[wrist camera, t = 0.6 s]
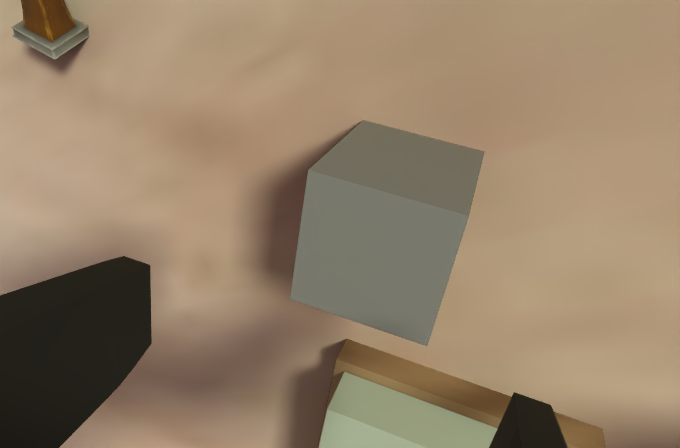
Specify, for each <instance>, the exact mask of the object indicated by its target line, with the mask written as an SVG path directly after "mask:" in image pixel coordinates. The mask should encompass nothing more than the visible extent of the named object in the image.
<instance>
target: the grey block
mask: <svg viewBox="0 0 680 448" xmlns="http://www.w3.org/2000/svg"><path fill="white" fill-rule="evenodd" d="M483 156H484V151H480V150H476V149H472V148H468V147H464V146H461V145H457V144H453V143H449V142H445V141H441V140H437V139H434V138H430V137H426V136H422V135H418V134H414V133H410V132H407V131H403V130H399V129H395V128H391V127H387V126H383V125H380V124H376V123H372V122H368V121H364V120H363V121H362V122H361V123H360V124H358V125H357V126H356V127H355V128H354V129H353V130H352V131H351V132H350V133H348V134H347V135H346V136H345V137H344V138H343V139H342V140H341V141H340V142H339V143H337V144H336V145H335V146H334V147H333V148H332V149H331V150H330V151H329V152H327V153H326V154H325V155H324V156H323V157H322V158H321V159H320V160H319V161H318V162H316V163H315V164H314V165H313V166H312V167H311V168H310V169H309V170H308V175H307V182H306V189H305V196H304V203H303V210H302V217H301V224H300V231H299V238H298V245H297V252H296V259H295V266H294V273H293V280H292V287H291V294H290V300H293V301H296V302H299V303H302V304H305V305H308V306H311V307H314V308H317V309H320V310H323V311H326V312H328V313H331V314H334V315H337V316H340V317H343V318H346V319H349V320H352V321H355V322H358V323H361V324H364V325H367V326H369V327H372V328H375V329H378V330H381V331H384V332H387V333H390V334H393V335H396V336H399V337H402V338H405V339H407V340H410V341H413V342H416V343H419V344H422V345H425V346H427V345H428V342H429V339H430V336H431V333H432V329H433V326H434V323H435V320H436V317H437V314H438V311H439V308H440V304H441V301H442V298H443V295H444V292H445V289H446V286H447V283H448V279H449V276H450V273H451V270H452V267H453V264H454V261H455V257H456V254H457V251H458V248H459V245H460V242H461V239H462V236H463V232H464V229H465V226H466V223H467V220H468V217H469V213H470V209H471V205H472V201H473V197H474V192H475V188H476V184H477V180H478V176H479V172H480V168H481V164H482V160H483Z"/></svg>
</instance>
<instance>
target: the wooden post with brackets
mask: <svg viewBox="0 0 680 448" xmlns="http://www.w3.org/2000/svg"><path fill="white" fill-rule="evenodd" d="M21 3H22V8H23V21H21V22H19V23H18V24H16V25H14V26H13V27H11V28H12V29H13V30H14V35H13V37H15V38H16V39H18V40H20V41H22V42H24V43H25V44H27V45H29V46H31V47H33V48H35V49H36V50H38V51H40V52H42V53H44V54H45V55H47V56H49V57H51V58H53V59H54V60H55V59H57V58H58V57H59V56H61V55H62V54H64V53H65V52H67V51H68V50H70V49H71V48H73V47H74V46H76V45H77V44H79V43H80V42H82V41H83V40H85V39H86V38H88V37H89V31H88V26H87V25H85V24H83V23H82V22H80V21H78V20H76V19H74V18H72V17H71V15H70V13H69V12H68V10H67V7H66V5H65V3H64V0H21Z"/></svg>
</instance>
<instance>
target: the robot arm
mask: <svg viewBox="0 0 680 448" xmlns="http://www.w3.org/2000/svg"><path fill="white" fill-rule="evenodd" d="M150 345H151V290H150V265H148V264H145V263H142V262H139V261H137V260H134V259H131V258H128V257H125V256H123V257H119V258H115V259H111V260H108V261H105V262H101V263H98V264H95V265H92V266H89V267H86V268H83V269H79V270H76V271H73V272H70V273H67V274H64V275H61V276H58V277H55V278H52V279H49V280H46V281H43V282H40V283H37V284H34V285H31V286H28V287H25V288H22V289H19V290H16V291H13V292H10V293H7V294H3V295H0V448H59V447H60V446H61V445H62V444H63V443H64V442H65V441H66V440H67V439H68V438H69V437H70V436H71V435H72V434H73V433H74V432H75V431H76V430H77V429H78V428H79V427H80V426H81V425H82V424H83V423H84V422H85V421H86V420H87V419H88V418H89V417H90V416H91V414H92V413H93V412H94V411H95V410H96V409H97V408H98V407H99V406H100V405H101V404H102V403H103V402H104V401H105V400H106V399H107V398H108V397H109V396H110V395H111V394H112V393H113V392H114V391H115V390H116V389H117V387H118V386H119V385H120V384H121V383H122V382H123V380H124V379H125V378H126V377H127V375H128V374H129V373H130V371H131V370H132V369H133V368H134V366H135V365H136V364H137V362H138V361H139V360H140V358H141V357H142V355H143V354H144V353H145V351H146V350H147V349H148V347H149V346H150ZM489 448H568V446H567V444H566V441H565V439H564V436H563V434H562V431H561V428H560V426H559V423H558V420H557V418H556V415H555V413H554V411H553V409H552V407H551V405H549V404H546V403H543V402H540V401H538V400H535V399H532V398H529V397H526V396H523V395H520V394H517V393H515V392H514V393H513V396H512V398H511V400H510V402H509V404H508V407H507V409H506V411H505V413H504V415H503V418H502V420H501V422H500V424H499V427H498V429H497V431H496V433H495V435H494V438H493V440H492V442H491V444H490V446H489Z"/></svg>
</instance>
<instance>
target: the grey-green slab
mask: <svg viewBox="0 0 680 448" xmlns="http://www.w3.org/2000/svg"><path fill="white" fill-rule="evenodd" d="M497 429H498V428H495V427H492V426H490V425H487V424H484V423H482V422H479V421H476V420H474V419H471V418H468V417H465V416H463V415H460V414H457V413H455V412H452V411H449V410H447V409H444V408H441V407H438V406H436V405H433V404H430V403H428V402H425V401H422V400H420V399H417V398H414V397H411V396H409V395H406V394H403V393H401V392H398V391H395V390H393V389H390V388H387V387H385V386H382V385H379V384H376V383H374V382H371V381H368V380H366V379H363V378H360V377H358V376H355V375H352V374H349V373H347V372H344V374H343V376H342V378H341V380H340V382H339V385H338V387H337V389H336V391H335V393H334V396H333V398H332V400H331V402H330V404H329V406H328V409H327V413H326V417H325V422H324V426H323V430H322V435H321V439H320V444H319V448H489V446H490V444H491V442H492V440H493V438H494V435H495V433H496V431H497Z"/></svg>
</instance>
